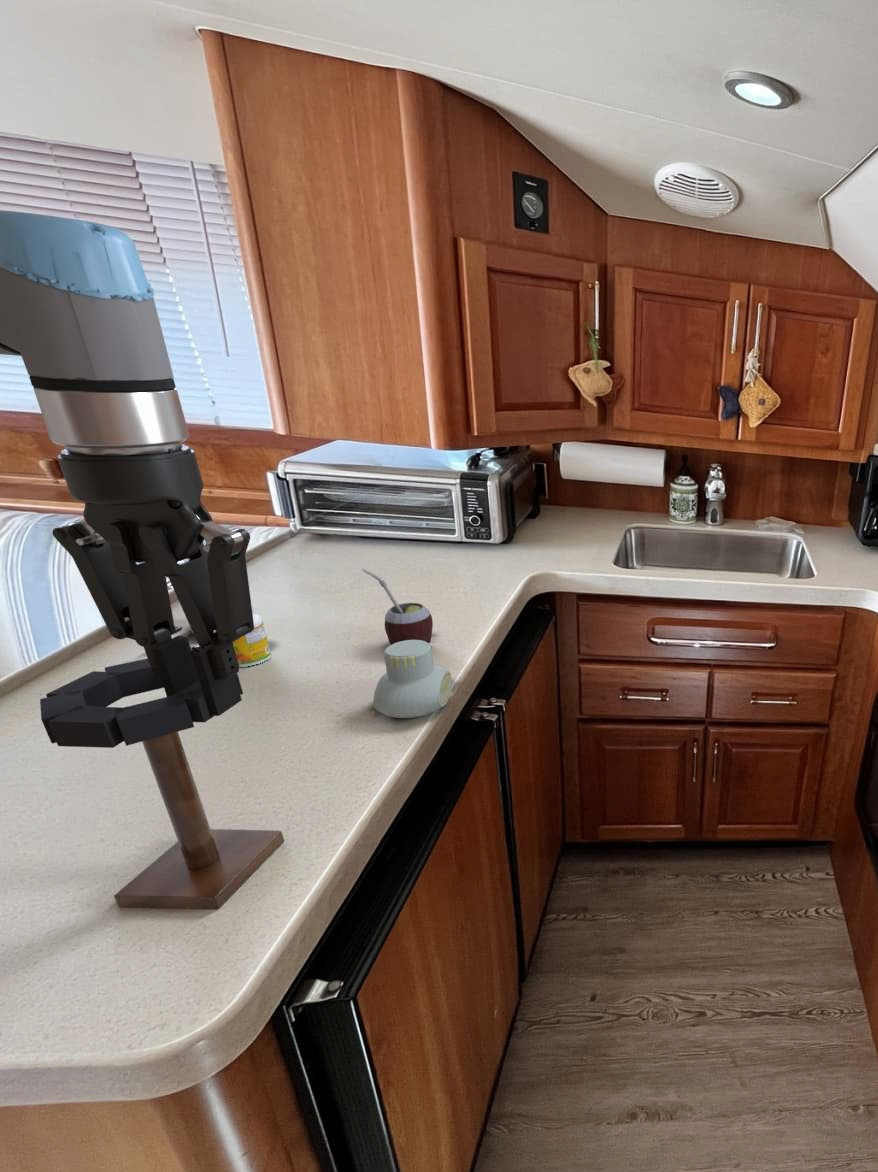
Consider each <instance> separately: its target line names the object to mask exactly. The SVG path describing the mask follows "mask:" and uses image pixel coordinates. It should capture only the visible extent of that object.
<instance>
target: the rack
mask: <svg viewBox="0 0 878 1172" xmlns="http://www.w3.org/2000/svg"><path fill="white" fill-rule="evenodd" d="M141 743H142V745H143V748H144V751H145V754H146V757H147V759H148V762H149V765H150V768H151V770H152V773H153V776H154V779H155V782H156V784H157V787H158V790H159V792H160V795H161V799H162V801H163V804H164V807H165V810H166V812H167V815H168V817H169V821H170V823H171V826H172V829H173V832H174V834H175V837H176V839H177V841H176V842H175V843H174V844H173V845H172V846H171V847H169V848H168V849H167V850H166V851H165V852H164V853H162V854H161V855H160V856H159V857H158V858H156V859H155V860H154V861H153V862H151V864H149V865H148V866H147V867H146V868H144V870H142V872H140V873H138V875H136V876H135V877H134V878H132V880H130V881H129V882H128V883H127V884H126V885H125V886H123V887H122V888H121V889H120V890H119V891H117V893H115V894H114V895H113V897H114V900H115V902H116V905H117V907H118V908H138V909H139V908H140V909H141V908H142V909H196V910H197V909H198V910H199V909H200V910H201V909H202V910H203V909H204V910H205V909H207V910H210V909H211V910H219V909H221V907H222V906H223V905H224V904H225V903H227V901H228V900H229V899H230V898H231V897H232V896H233V895H234V894H235V893H236V892H237V891H238V890H239V889H240V888H241V887H242V886H243V885H244V884H245V883H246V881H248V880H249V878H250V877H251V876H253V874H255V872H256V871H257V870H258V869H260V868H261V866H262V865H263V864H264V863H266V861H267V860H268V859H269V858H270V857H271V856H272V855H273V853H275V852H276V850H278V849H279V847H281V845H283V844H284V842H285V838H284V835H283V831H282V830H268V829H267V830H266V829H263V830H262V829H234V828H233V829H231V828H230V829H229V828H227V829H226V828H225V829H224V828H211V826H210V824H209V820H208V818H207V814H206V812H205V808H204V806H203V803H202V800H201V797H200V793H199V791H198V787H197V784H196V782H195V778H194V776H193V772H192V770H191V767H190V764H189V761H188V757H187V754H186V752H185V749H184V746H183V743H182V740H181V737H180V733H179V731H178V732H175V733H171V734H167V735H164V736H160V737H157V738H153V739H149V740H146V741H142V742H141Z"/></svg>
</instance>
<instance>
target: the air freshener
mask: <svg viewBox="0 0 878 1172" xmlns="http://www.w3.org/2000/svg"><path fill="white" fill-rule="evenodd" d="M383 658H384V664H385V670H386V673H385V674H383V675H382V676H381V677H379V680H378V682H377V684H376V686H375V690H374V694H373V705H374V708H375V710H376V711H378V712H379V713H381V714H383V715H386V716H387V717H392V718H397V719H413V718H419V717H423V716H427V715H430V714H432V713H435V712H437V711H438V710H440V709H442V708H443V707H445V706H446V704H447V703H448V700H449V698H450V694H451V691H452V675H451V672H450V671H449V670H448V669H446V668H445V667H442V666H440V665H436V664H435V662H434V656H433V651H432V646H431V645H430V644H429V643H427V642H425V641H422V640H406V641H401V642H397V643H394V644H392V645H391V644H390V645H388V646H387V647H386V648H385V649H384V650H383Z"/></svg>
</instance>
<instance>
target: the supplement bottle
mask: <svg viewBox="0 0 878 1172" xmlns="http://www.w3.org/2000/svg"><path fill="white" fill-rule="evenodd" d="M251 606H252V613H253V621H254V630H253V631H252V632H250V633H248V634H246V635H245V636H243V637H241V638H239V639H237V640H236V641H234V642H233V646H234V650H235V653H236V658H237V660H238V664H239V668H249V667H248V666H250V667H253V666H252V665H255V666H257V665H256V664H258V665H261V664H263V663H265V662H267V661H268V660H270V659H271V657H272V651H271V647H270V644H269V640H268V637H267V632H266V629H265V625H264V621H263V618H262V616H261V615H259V614H257V613H255V608H254V604H253V602H251ZM266 660H267V661H266ZM264 661H265V662H264ZM262 662H263V663H262ZM260 663H261V664H260Z"/></svg>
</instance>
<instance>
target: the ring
mask: <svg viewBox="0 0 878 1172" xmlns="http://www.w3.org/2000/svg"><path fill="white" fill-rule="evenodd" d="M235 678H236V681H237V685H238V688H239V692H240V695H241V696H242V695H244V691H243V688H242V684H241V681H240V678H239V674H238V673H236V674H235ZM160 689H164V686H163V683H162V680H161V677H156V676H155V675H154V674H153V672H152V670H151V666H150V664H149V661H148V658H147V657H146V658H143V659H139V660H138V659H137V660H134V661H128V662H124V663H119V664H114V665H109V666H106V667H104V671H99V670H98V671H97V670H96V671H95V670H94V671H91V672H88V673H86V674H84V675H82V676H80V677H78V678H76V679H74V680H72V681H70V682H68V683H66V684H63V685H62V686H59V687H58V688H56V689H54V690H52V691H49V692H48V693H46V694H45V696H46V697H43V698H40V699H39V704H40V705H39V706H40V719H41V722H42V724H43V727H44V729H45V731H46V734H47V736H48V738H49V741H50V743H51V744H52V745H53V744H56V745H57V747H70V748H71V747H72V748H73V747H74V748H104V749H105V748H106V749H109V748H110V749H111V748H112V749H113V748H115V747H117V746H119V745H120V744H121V743H123V742H124V744H125V746H126V747H127V746H131V745H135V744H139V743H142V741H146V740H149V739H153V738H157V737H160V736H164V735H167V734H171V733H175V732H178V733H179V732H183V731H185V730H189V729H193V728H195V724H194V723H206V722H208V721H209V720H210V719H212V718H214V717H215V716H210V713H209V710H208V706H207V703H206V700H205V697H204V695H203V692H202V689H201V685H200V682H199V681H197V682H195V683H193V684H192V685H190V686H188V687H187V688H185V689H183V690H182V691H180V692H178V693H177V694H175V695H173V696H169V697H167V696H164V697H161V698H157V699H153V700H148V701H144V702H140V703H136V704H132V705H128V706H125V707H124V706H123V707H119V706H118V707H117V706H110V705H112V704H114V703H116V702H118V701H119V700H121V699H123V698H127V697H131V696H135V695H139V694H143V693H147V692H152V691H155V690H160Z"/></svg>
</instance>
